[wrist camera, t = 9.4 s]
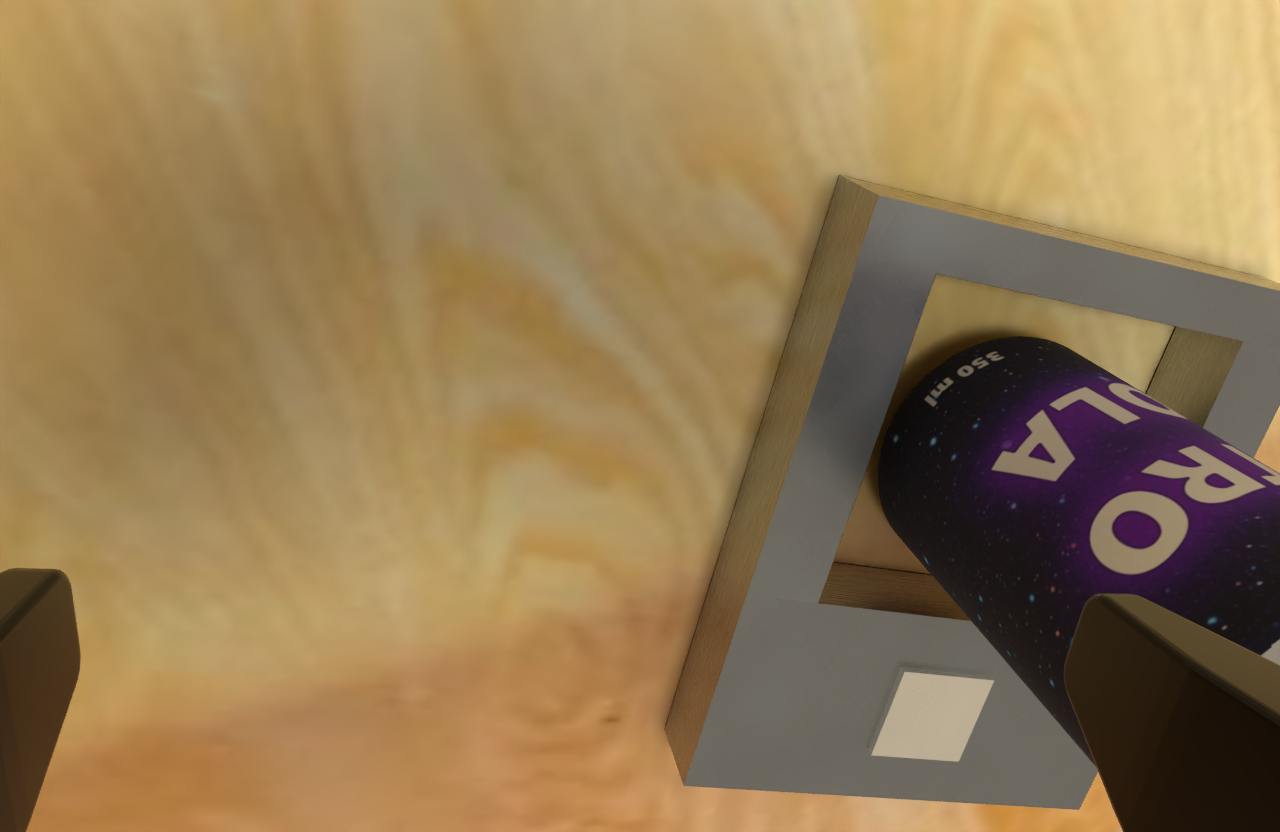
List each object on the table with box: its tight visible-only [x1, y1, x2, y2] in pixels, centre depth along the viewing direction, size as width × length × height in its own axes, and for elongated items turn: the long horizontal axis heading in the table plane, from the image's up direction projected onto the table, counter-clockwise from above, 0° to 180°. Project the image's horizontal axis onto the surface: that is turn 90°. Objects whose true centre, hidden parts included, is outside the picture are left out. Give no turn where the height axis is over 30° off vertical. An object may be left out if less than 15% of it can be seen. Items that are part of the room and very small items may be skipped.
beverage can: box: [878, 337, 1280, 768], centre depth 20 cm, size 6×6×12 cm
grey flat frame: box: [665, 175, 1280, 810], centre depth 25 cm, size 14×11×2 cm
